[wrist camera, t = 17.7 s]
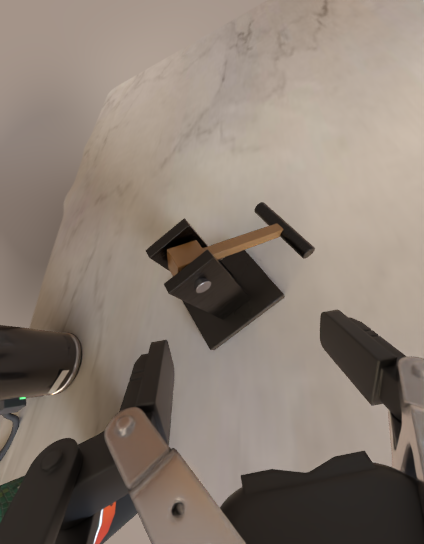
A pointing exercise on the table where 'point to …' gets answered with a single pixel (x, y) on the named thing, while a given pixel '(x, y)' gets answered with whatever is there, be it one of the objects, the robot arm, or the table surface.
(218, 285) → the bracket
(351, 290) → the table surface
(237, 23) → the table surface
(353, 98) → the table surface
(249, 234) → the lever
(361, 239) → the table surface
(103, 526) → the wine bottle
